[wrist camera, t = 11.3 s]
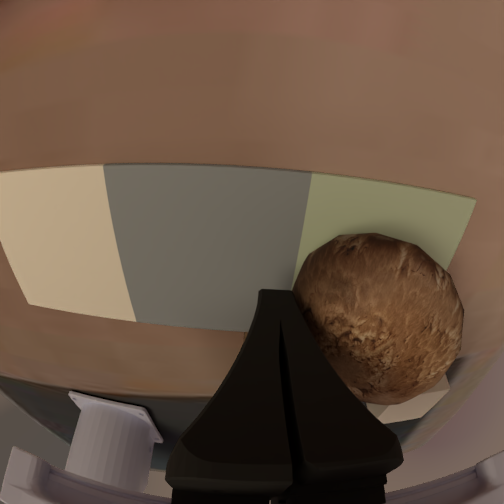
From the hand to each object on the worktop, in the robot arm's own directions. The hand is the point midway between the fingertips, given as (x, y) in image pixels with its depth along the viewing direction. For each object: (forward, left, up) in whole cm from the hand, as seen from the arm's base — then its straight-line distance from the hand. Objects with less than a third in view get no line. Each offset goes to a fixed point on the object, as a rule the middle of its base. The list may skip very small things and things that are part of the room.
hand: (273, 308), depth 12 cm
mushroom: (0, -4, -3) cm, 5 cm away
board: (0, +3, -3) cm, 4 cm away
